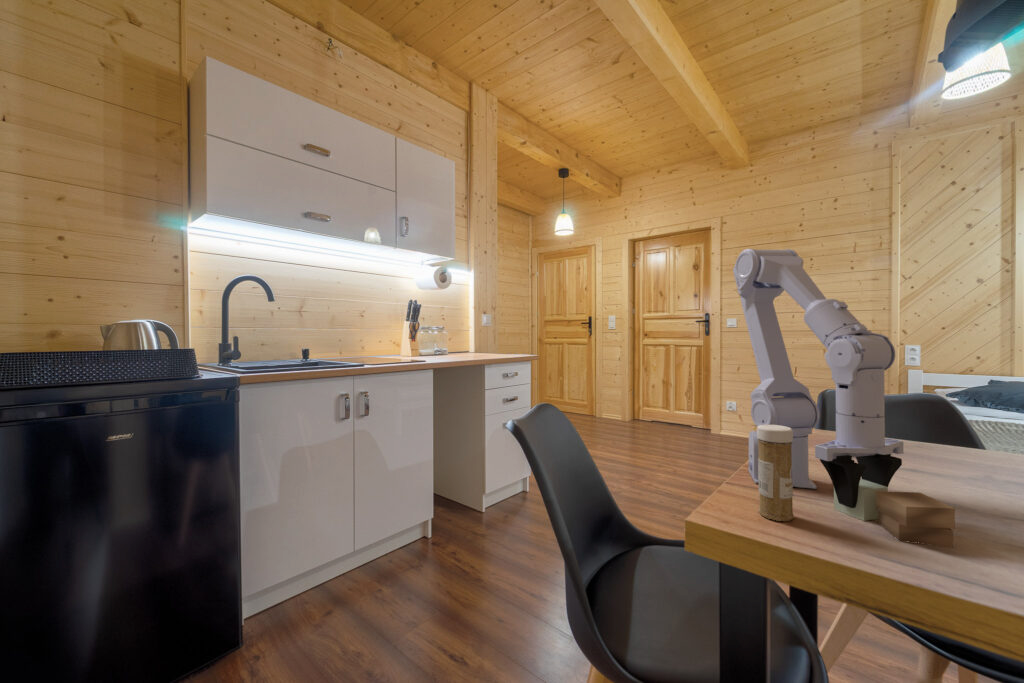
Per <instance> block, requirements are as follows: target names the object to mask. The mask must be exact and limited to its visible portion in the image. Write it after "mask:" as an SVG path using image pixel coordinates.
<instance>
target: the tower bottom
mask: <svg viewBox="0 0 1024 683" xmlns="http://www.w3.org/2000/svg"><path fill="white" fill-rule="evenodd" d="M878 524H879V525H880V526H881V527H882V528H883V529H885V530H886V531H887V532H888V533H889V534H890V535H891V534H892V535H891V536H892V537H893V538H895V537H896V538H897V539H898V540H900V541H899V542H903V541H909V542H908V543H911V542H917V543H916V544H919V543H924V544H923V545H927V544H931V545H930V546H937V547H938V546H939V547H944V548H947V547H948V548H953V549H954V529H949V528H926V527H906V526H904V525H903V524H901V523H899V522H897V521H896V520H894V519H892V518H890V517H889V516H887V515H885V514H883V513H882V512H880V511H879V519H878ZM896 538H895V539H896ZM897 539H896V540H897ZM898 540H897V541H898ZM918 542H919V543H918Z"/></svg>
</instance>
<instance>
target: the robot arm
mask: <svg viewBox="0 0 1024 683" xmlns="http://www.w3.org/2000/svg"><path fill="white" fill-rule="evenodd" d="M732 272H733V276H734V280H735V284H736V288H737V291H738V292H737V294H738V295H739V297H740V303H741V308H742V311H743V316H744V320H745V323H746V328H747V332H748V337H749V339H750V343H751V347H752V351H753V356H754V359H755V363H756V366H757V368H756V369H757V372H758V375H759V380H760V384H758V385H757V387H756V388H754V389H753V391H751V393H750V394H749V395H750V400H751V408H750V409H751V410H750V415H751V419H752V421H753V423H754V425H755V426H756V428H757V427H758V426H759V425H780V426H786V427H789V428H791V429H792V430H793V441H792V445H791V447H792V448H791V452H792V484H793V488H802V489H805V488H806V489H814V490H815V489H817V488H818V487H817V485H816V484H815V483H814V481H812V479H810V477H809V475H810V474H809V435H812V434H813V429H815V427H817V426H818V424H819V422H820V419H821V418H820V417H821V416H820V415H821V414H820V409H819V406H818V405H817V403H816V401H815V400H814V399H813V397H812V396H811V393H810V389H809V388H808V387H807V386H806V385H805V384H803V383H801V382H800V381H799V380H797V379H795V377H794V374H793V370H792V367H791V363H790V359H789V356H788V352H787V349H786V345H785V341H784V337H783V334H782V331H781V327H780V326H781V325H780V324H779V319H778V315H777V312H776V309H775V306H774V301H775V299H776V298H777V297H779V296H781V295H782V293H784V291H785V292H786V294H787V295H788V296H790V297H791V298H792V299H793V301H795V302H796V304H798V305H799V306H800V307H801V308H802V309H803V310H804V312H805V313H804V317H803V322H804V323H805V324H806V325H807V327H808V328H809V329H810V331H811V332H812V333H813V334H814V335H815V336H816V338H817V339H818V340H819V342H820V343H821V344H822V345H823V346H824V347H825V349H826V350H827V351H826V352H824V360H825V362H826V364H827V367H829V369H830V372H831V380H833V383H834V384H835V439H833V440H831V441H828V442H824V443H821V444H815V445H814V458H816V459H818V460H819V461H820V463H821V465H823V467H824V469H825V471H827V475H829V477H830V478H829V479H830V480H831V482H832V485H833V490H834V489H835V492H836V495H837V498H838V502H839V504H842V505H845V506H847V507H850V508H855V507H856V504H857V499H858V487H859V482H860V479H863V480H867V481H870V482H873V483H876V484H879V485H883V486H886V487H888V488H889V486H890V482H891V480H892V478H893V477H894V476H895V473H896V472H897V471H898V470H899V469H900V468H901V466H902V465H903V459H902V458H900V457H897V456H893V455H892V454H896V455H903V454H904V441H903V440H898V439H893V438H889V437H888V438H886V437H885V436H886V435H885V434H886V428H885V427H886V424H885V423H886V422H885V421H886V420H885V417H886V416H885V413H886V412H885V409H886V407H885V405H886V404H885V371H887V370H889V369H890V368H891V367H892V366H893V364H894V362H895V359H896V349H895V347H894V345H893V343H892V342H891V340H890V338H889V337H888V336H887V335H884V334H882V333H876V332H875V333H874V332H873V331H871V330H868V327H867V326H865V325H864V324H863V323H861V322H860V321H859V320H858V319H857V317H856V316H854V314H852V312H851V311H849V309H848V307H849V306H848V304H846V302H845V301H843V300H842V301H840V300H838V299H834V298H826V296H825V295H824V294H823V292H822V291H821V290H820V288H819V287H818V285H817V284H816V283H815V281H813V279H812V278H811V277H810V275H809V274H808V272H806V270H805V269H804V259H803V258H802V257H801V256H799V255H798V253H797V251H795V250H793V249H790V248H787V249H754V248H746V249H743V250H742V251H741V252H740V253H739V255H738V257H737V258H736V261H735V263H734V266H733V268H732ZM758 458H759V442H758V438H757V430H756V431H755V430H751V431H749V434H748V472H749V474H750V476H751V478H752V479H753V482H754V483H755V484H759V478H758ZM853 458H855V459H856V462H855V459H853Z"/></svg>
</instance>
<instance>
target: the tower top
mask: <svg viewBox="0 0 1024 683" xmlns="http://www.w3.org/2000/svg"><path fill="white" fill-rule="evenodd" d="M876 510H878V511H880V512H882V513H883V514H885V515H887V516H889V517H890V518H892V519H894V520H896V521H897V522H899V523H901V524H903V525H904V526H906V527H926V528H949V529H952V530H956V508H955V507H953V506H951V505H948V504H946V503H944V502H941V501H939V500H938V499H937V500H936V499H935V498H933V497H931V496H928V495H926V494H924V493H922V492H914V491H913V492H912V491H907V492H906V491H889V490H888V491H876Z"/></svg>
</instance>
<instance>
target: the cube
mask: <svg viewBox="0 0 1024 683" xmlns="http://www.w3.org/2000/svg"><path fill="white" fill-rule="evenodd" d="M876 491H888V492H889V486H888V487H886V486H883V485H879V484H876V483H873V482H870V481H867V480H863V479H862V478H861V479H860V482H859V487H858V499H857V504H856V507H855V508H850V507H847V506H845V505H842V504H839V502H838V498H837V495H836V492H835V489H834V488H833V509H834V510H836V511H838V512H841V513H843V514H846V515H848V516H850V517H854V518H856V519H858V520H861V521H862V522H867V521H874V520H879V511H878V510H876Z"/></svg>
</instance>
